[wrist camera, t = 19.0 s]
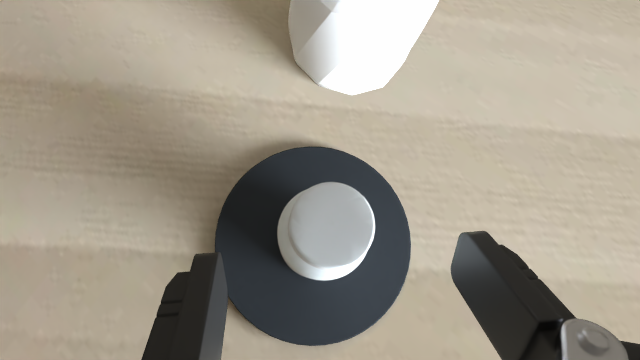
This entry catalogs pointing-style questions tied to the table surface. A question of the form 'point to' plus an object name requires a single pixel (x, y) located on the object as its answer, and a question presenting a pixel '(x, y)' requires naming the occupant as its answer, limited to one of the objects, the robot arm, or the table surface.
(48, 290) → the table surface
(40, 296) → the table surface
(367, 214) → the pill bottle
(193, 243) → the table surface
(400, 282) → the rubber mat
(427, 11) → the vase
